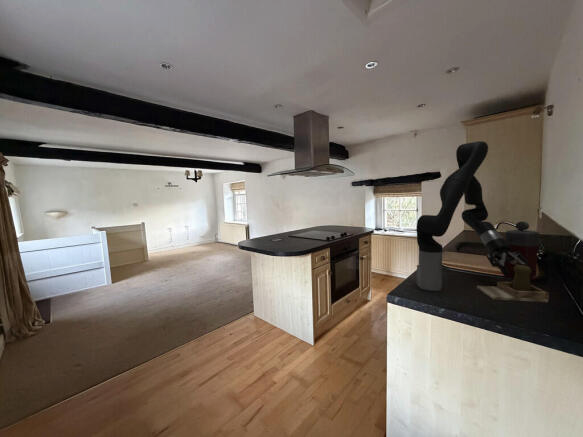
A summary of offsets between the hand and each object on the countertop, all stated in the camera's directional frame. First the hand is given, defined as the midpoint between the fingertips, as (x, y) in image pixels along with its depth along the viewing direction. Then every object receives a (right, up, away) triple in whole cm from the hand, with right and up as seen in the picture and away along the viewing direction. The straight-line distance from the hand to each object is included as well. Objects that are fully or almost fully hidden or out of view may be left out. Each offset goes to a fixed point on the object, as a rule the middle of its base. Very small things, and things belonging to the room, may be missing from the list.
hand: (517, 274), depth 98 cm
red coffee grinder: (+20, -6, +19) cm, 28 cm away
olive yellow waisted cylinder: (+1, -7, 0) cm, 7 cm away
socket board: (-4, -8, 0) cm, 9 cm away
